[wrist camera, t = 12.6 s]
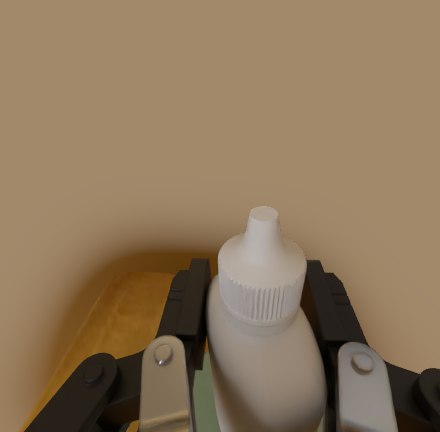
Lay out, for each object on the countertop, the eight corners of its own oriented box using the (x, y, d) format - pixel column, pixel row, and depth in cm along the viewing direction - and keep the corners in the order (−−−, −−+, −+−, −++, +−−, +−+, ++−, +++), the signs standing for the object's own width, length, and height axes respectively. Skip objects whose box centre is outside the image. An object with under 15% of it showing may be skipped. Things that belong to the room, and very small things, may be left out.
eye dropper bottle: (296, 366, 15) (340, 170, 8) (299, 509, 10) (403, 331, 4) (220, 351, 16) (206, 164, 9) (194, 478, 11) (127, 290, 5)
